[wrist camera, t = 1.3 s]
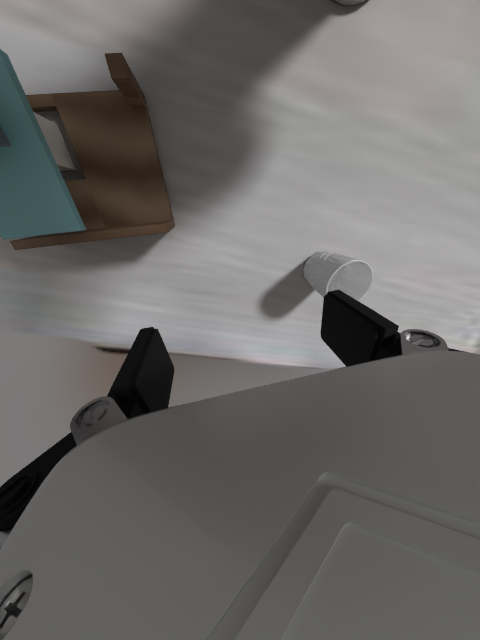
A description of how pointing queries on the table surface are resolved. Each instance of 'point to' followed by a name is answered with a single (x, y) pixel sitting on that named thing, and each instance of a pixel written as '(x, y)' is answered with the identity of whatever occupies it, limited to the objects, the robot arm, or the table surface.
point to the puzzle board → (109, 162)
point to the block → (55, 143)
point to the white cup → (338, 274)
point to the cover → (28, 169)
